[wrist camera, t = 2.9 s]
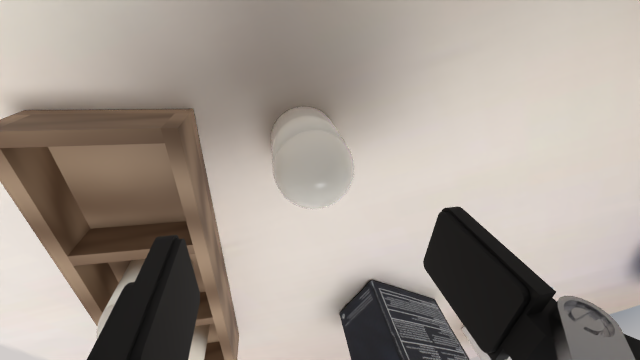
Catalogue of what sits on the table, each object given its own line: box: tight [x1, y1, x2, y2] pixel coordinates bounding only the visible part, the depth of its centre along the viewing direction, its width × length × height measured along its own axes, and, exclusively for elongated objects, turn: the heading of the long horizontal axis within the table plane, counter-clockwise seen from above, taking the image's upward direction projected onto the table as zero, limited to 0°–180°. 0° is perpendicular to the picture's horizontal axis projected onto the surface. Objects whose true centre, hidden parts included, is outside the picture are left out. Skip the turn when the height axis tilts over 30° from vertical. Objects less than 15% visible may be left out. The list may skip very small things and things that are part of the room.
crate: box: [0, 109, 239, 360], centre depth 20 cm, size 24×9×3 cm, turn 177°
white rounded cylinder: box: [271, 106, 354, 209], centre depth 15 cm, size 4×4×7 cm
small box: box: [340, 280, 469, 360], centre depth 26 cm, size 11×6×10 cm, turn 57°
